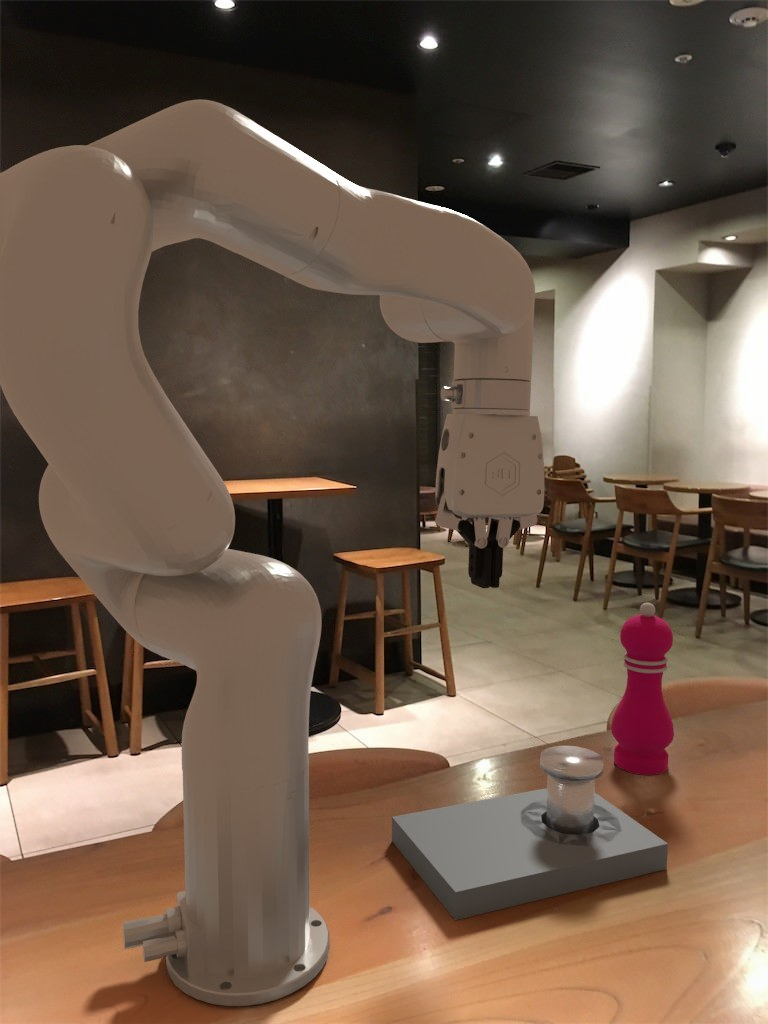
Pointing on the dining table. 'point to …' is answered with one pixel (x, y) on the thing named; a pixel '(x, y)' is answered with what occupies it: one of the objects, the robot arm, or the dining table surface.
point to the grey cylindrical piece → (571, 787)
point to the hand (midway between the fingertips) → (484, 585)
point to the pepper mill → (643, 696)
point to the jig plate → (520, 852)
